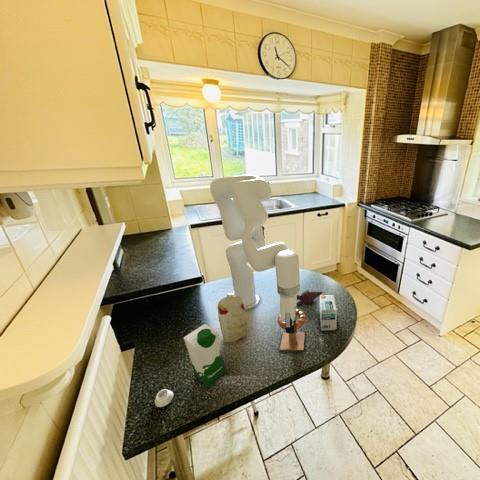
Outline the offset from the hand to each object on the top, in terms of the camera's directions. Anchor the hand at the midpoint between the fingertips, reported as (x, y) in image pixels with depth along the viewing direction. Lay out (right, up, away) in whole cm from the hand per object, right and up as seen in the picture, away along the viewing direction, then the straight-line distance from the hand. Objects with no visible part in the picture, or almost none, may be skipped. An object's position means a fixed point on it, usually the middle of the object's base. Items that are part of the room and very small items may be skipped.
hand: (290, 328), depth 93 cm
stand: (0, -9, +9) cm, 12 cm away
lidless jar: (-38, -18, -12) cm, 44 cm away
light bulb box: (+14, -4, +20) cm, 24 cm away
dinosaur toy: (+5, +2, +31) cm, 32 cm away
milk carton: (-27, -15, -4) cm, 31 cm away
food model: (-23, -8, +10) cm, 27 cm away
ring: (0, +3, +3) cm, 4 cm away
